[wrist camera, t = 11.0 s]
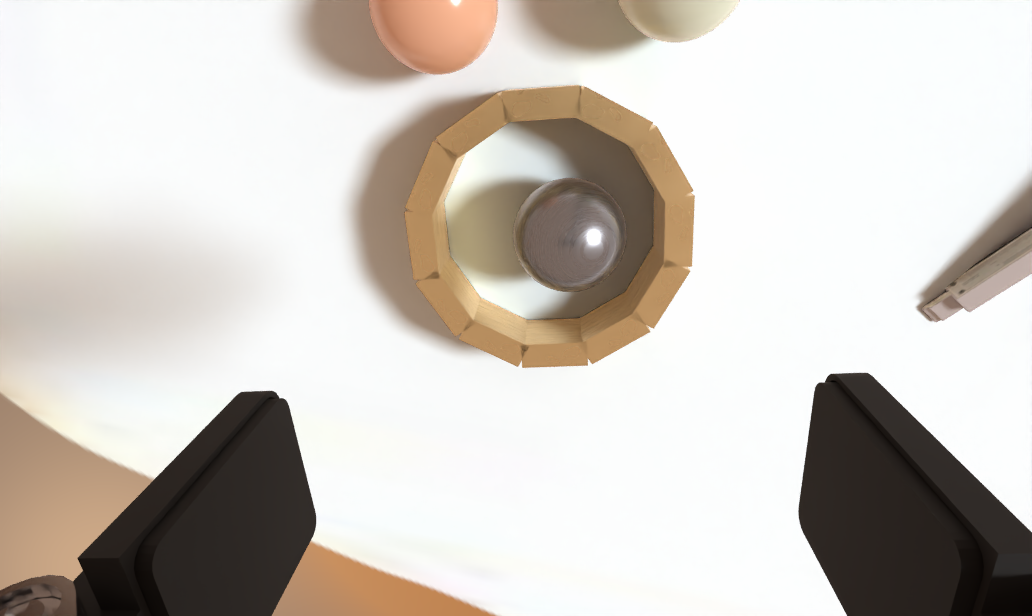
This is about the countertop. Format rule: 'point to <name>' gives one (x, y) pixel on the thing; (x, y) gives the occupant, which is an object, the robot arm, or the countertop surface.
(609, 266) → the steel ball
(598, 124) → the ring
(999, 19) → the countertop surface
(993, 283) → the caliper
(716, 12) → the cream ball
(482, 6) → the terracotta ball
